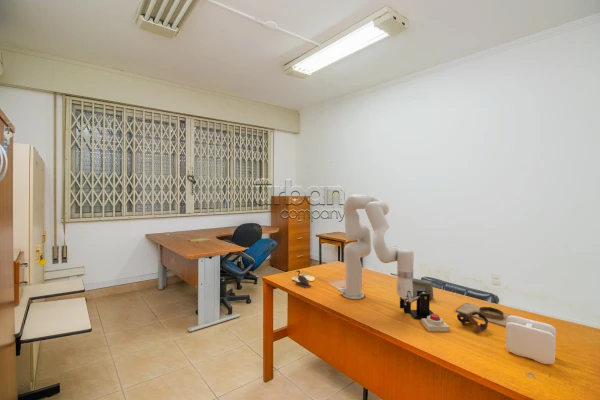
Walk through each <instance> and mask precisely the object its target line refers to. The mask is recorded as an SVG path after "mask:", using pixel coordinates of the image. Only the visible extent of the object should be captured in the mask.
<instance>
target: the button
mask: <svg viewBox="0 0 600 400" xmlns="http://www.w3.org/2000/svg"><path fill="white" fill-rule="evenodd" d="M439 317H440V315H439V314H437V313H434V314H431V319H432V320H435V321H439Z"/></svg>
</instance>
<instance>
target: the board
mask: <svg viewBox="0 0 600 400" xmlns="http://www.w3.org/2000/svg"><path fill="white" fill-rule="evenodd" d="M473 311H476V312H479V313H481V314H483V315H484V316H485V317H486V318H487V320H488V323H491V324H495V325H498V326H502V327H505V328H506V325H507V318H508V316H511V315H512V314H508V313H505V312H504V311H502V310H500V309H498V308H495V307H492V306H481V305H480V306H479V305H476V304H472V303H468V302H466V303H464V304H462V305H461V306H460V307H458V308H457V309H456V311H455V312H456V313H457V314H459V313H463V314H467V313H471V312H473ZM473 318H474V319H478V320H481V321H484V322H485V320H484V319H483V318H480V317H479V315H477V314H476V315H473Z"/></svg>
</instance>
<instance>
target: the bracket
mask: <svg viewBox="0 0 600 400" xmlns="http://www.w3.org/2000/svg"><path fill="white" fill-rule="evenodd" d="M422 292H425V293H422ZM419 294H420V299H418V300H416V309H411V313H409V315H411V317H412V318H413V319H414V320H421V318H427V316H430V315H431V314H435V313H434V312H433V311H432V310H431V309H430V305H431V303H430V301H431V298H430V294H429V293H426V291H425V290H417V297H418V296H419Z"/></svg>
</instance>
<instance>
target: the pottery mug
mask: <svg viewBox="0 0 600 400" xmlns="http://www.w3.org/2000/svg"><path fill="white" fill-rule="evenodd" d="M476 314H477V315H479V317H480V318H483V319H484V320H485V321H484V320H483V321H484V323H480V324H479V321H477V320H476V318H475V317H473V315H476ZM456 319H457V320H458V322H460V323H461V325H463V326H465V324H466V323H469V324H472V325H474V327H475V329H474V332H475V333H480V332H482V331H485V330H487V329H488V326H489V322H488V320H487V318H486V317H485V316H484V315H483V314H481V313H479V312H476V311H473V312H471V313H467V314H463V313H457V315H456Z"/></svg>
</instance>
